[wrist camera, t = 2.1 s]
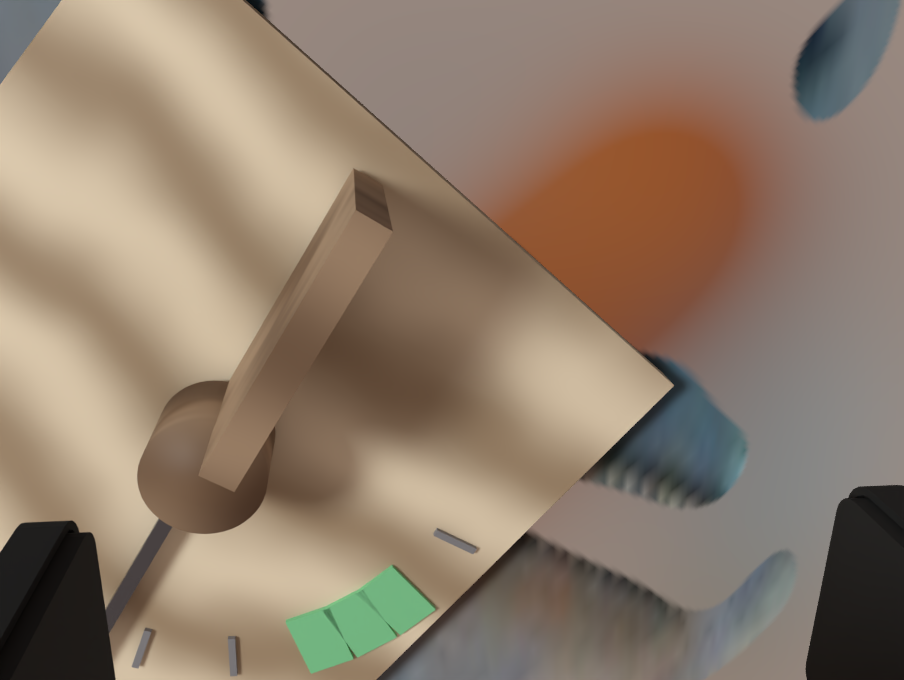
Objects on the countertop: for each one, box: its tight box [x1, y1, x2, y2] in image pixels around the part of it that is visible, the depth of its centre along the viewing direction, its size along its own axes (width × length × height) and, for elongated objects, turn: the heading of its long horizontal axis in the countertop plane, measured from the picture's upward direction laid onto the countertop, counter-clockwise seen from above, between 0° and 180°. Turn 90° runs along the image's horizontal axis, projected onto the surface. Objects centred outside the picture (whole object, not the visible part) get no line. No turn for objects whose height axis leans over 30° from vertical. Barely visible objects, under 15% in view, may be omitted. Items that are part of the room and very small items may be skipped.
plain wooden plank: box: [105, 168, 393, 633], centre depth 30 cm, size 24×4×7 cm, turn 148°
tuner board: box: [0, 0, 674, 680], centre depth 34 cm, size 26×26×1 cm
